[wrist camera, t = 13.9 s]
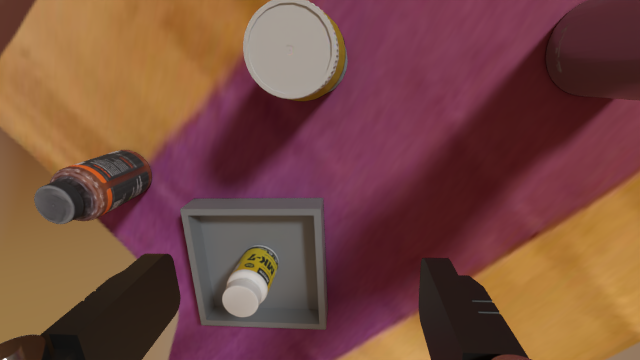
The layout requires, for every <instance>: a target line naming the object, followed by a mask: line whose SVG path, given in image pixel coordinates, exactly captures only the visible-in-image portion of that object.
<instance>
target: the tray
mask: <svg viewBox="0 0 640 360" xmlns="http://www.w3.org/2000/svg"><path fill="white" fill-rule="evenodd" d="M180 211H181V216H182V222H183V227H184V233H185V238H186V244H187V249H188V254H189V260H190V265H191V271H192V276H193V282H194V287H195V293H196V298H197V304H198V309H199V315H200V320H201V325H213V326H240V327H268V328H295V329H323V330H326V324H327V314H328V303H327V278H326V254H325V229H324V204H323V198H230V199H193V200H192V201H190V202H189V203H188V204H186V205H185V206H184V207H182V208H181V209H180ZM256 245H262V246H266V247H268V248H270V249H272V250H273V251H274V252H275V253H276V255H277V257H278V261H279V265H278V269H277V272H276V274H275V277H274V279H273V282H272V284H271V287H270V289H269V291H268V294H267V296H266V298H265V300H264V301H263V302H262V303H260V304H259V307H258V309H257V310H256V312H255V313H254V314H252V315H251V316H248V317H237V316H235V315H232V314H231V313H229V312H228V311H227V310H226V309H225V307H224V305H223V302H222V296H223V293H224V291H225V290H226V287H227V281H228V279H229V277H230V275H231V274H232V272H233V270H234V269H235V267H236V266H237V264H238V263H239V261H240V259H241V258H242V256H243V255H244V253H245V252H246V251H247V250H248V249H249V248H250V247H252V246H256Z"/></svg>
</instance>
